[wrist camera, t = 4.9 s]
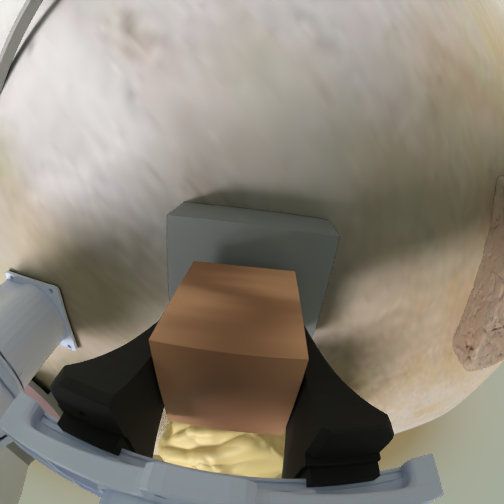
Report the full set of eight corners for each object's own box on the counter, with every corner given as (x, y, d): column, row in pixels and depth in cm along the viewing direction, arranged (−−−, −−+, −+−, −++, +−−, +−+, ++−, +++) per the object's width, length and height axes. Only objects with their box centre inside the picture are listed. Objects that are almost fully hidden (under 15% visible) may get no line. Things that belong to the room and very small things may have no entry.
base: (184, 318, 20) (172, 344, 17) (183, 202, 16) (166, 214, 14) (301, 334, 20) (304, 362, 17) (328, 219, 16) (339, 236, 13)
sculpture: (262, 336, 20) (252, 466, 10) (325, 407, 24) (335, 499, 14) (162, 377, 23) (126, 469, 14) (235, 433, 27) (224, 511, 17)
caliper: (115, -58, 7) (82, -86, 1) (121, -57, 8) (87, -86, 2) (-10, 110, 14) (-55, 117, 8) (-8, 115, 14) (-53, 123, 8)
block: (196, 337, 15) (168, 420, 10) (193, 260, 13) (148, 340, 8) (281, 346, 15) (282, 434, 10) (294, 271, 13) (308, 359, 8)
